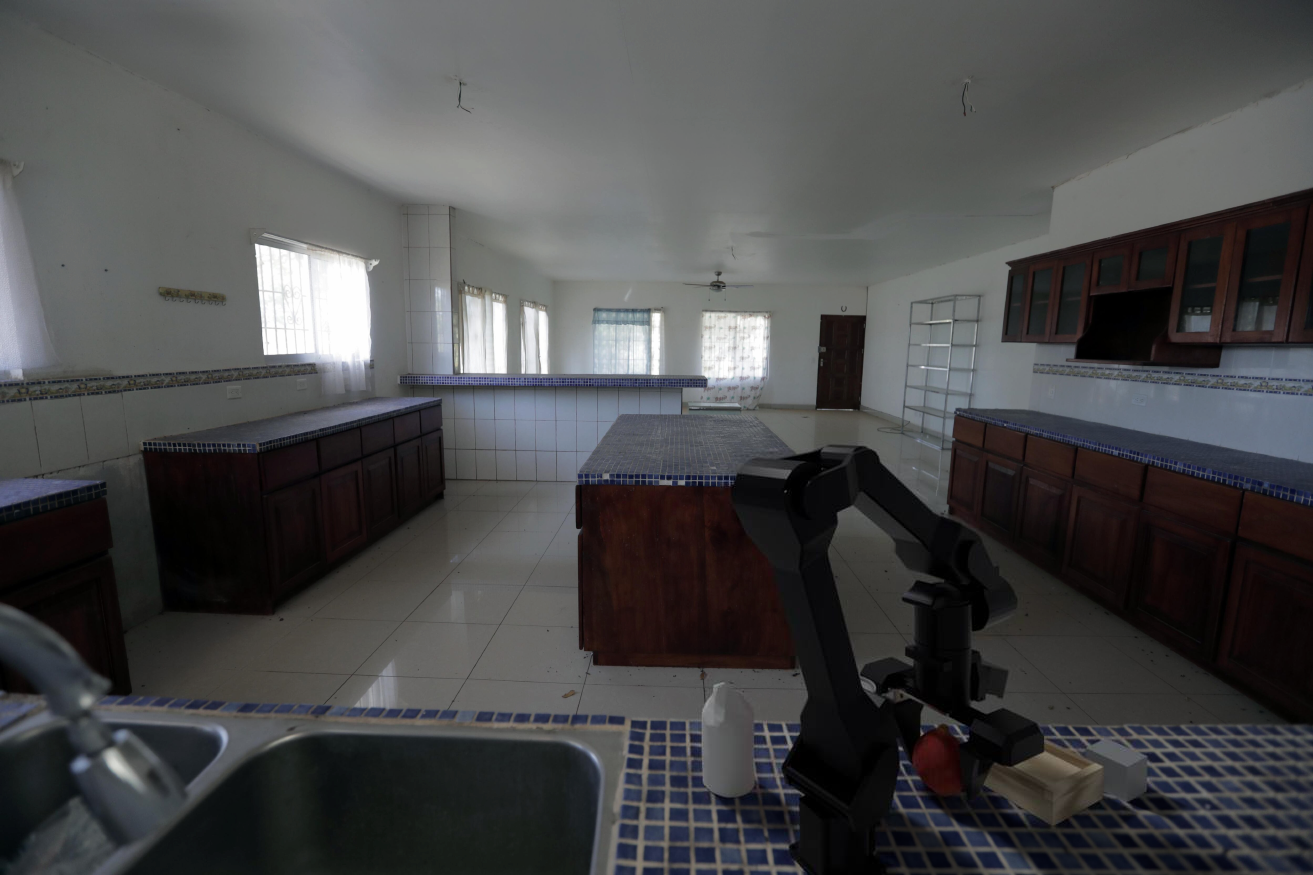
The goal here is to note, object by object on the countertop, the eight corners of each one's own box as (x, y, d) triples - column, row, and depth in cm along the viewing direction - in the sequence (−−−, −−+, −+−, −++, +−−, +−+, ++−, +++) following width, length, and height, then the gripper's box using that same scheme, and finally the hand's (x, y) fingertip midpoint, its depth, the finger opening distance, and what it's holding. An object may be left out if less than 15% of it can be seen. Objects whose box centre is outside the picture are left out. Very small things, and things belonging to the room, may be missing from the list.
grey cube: (1126, 803, 63) (1127, 766, 63) (1085, 782, 67) (1086, 747, 66) (1146, 791, 65) (1147, 756, 65) (1105, 771, 68) (1106, 738, 68)
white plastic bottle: (754, 671, 69) (752, 694, 64) (756, 771, 70) (753, 802, 64) (703, 667, 71) (696, 689, 65) (705, 765, 71) (698, 795, 66)
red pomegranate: (910, 802, 64) (910, 730, 63) (914, 772, 69) (914, 705, 68) (971, 819, 61) (972, 743, 61) (971, 786, 66) (972, 717, 66)
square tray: (1052, 825, 60) (1053, 792, 60) (970, 777, 68) (970, 747, 68) (1103, 798, 64) (1103, 766, 64) (1019, 755, 72) (1020, 726, 72)
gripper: (1078, 656, 59) (1076, 807, 60) (921, 603, 76) (921, 722, 77) (1008, 681, 54) (1006, 845, 55) (856, 618, 71) (856, 745, 72)
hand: (941, 780), depth 65 cm, fingers open, 7 cm apart
